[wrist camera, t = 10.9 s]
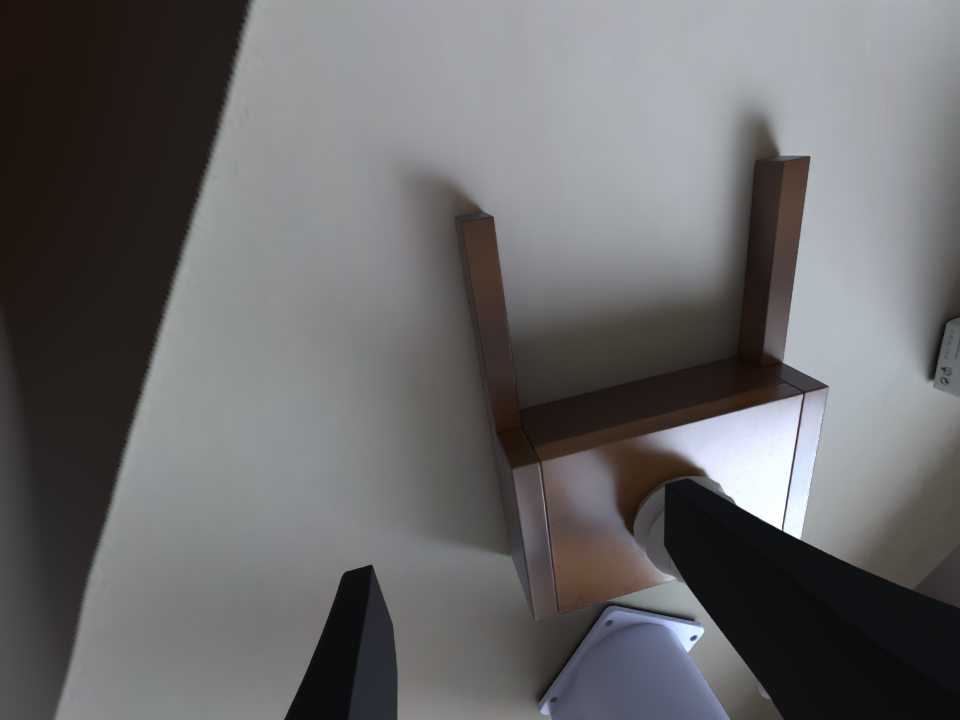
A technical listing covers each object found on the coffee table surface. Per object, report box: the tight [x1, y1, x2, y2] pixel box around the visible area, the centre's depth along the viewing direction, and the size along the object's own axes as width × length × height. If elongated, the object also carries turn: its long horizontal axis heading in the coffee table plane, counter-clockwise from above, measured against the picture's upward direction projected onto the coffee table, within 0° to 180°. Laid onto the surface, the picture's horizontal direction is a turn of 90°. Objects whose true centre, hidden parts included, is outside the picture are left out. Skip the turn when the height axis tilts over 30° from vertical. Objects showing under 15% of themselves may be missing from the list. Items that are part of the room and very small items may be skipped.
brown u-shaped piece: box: [455, 156, 829, 622], centre depth 21 cm, size 18×14×4 cm
